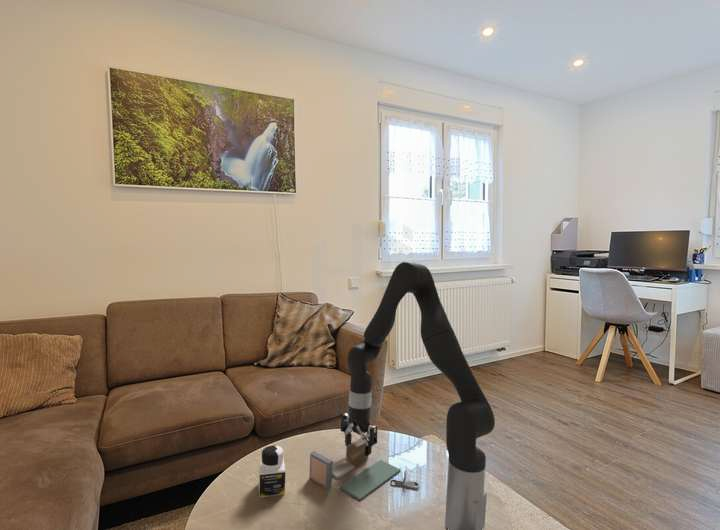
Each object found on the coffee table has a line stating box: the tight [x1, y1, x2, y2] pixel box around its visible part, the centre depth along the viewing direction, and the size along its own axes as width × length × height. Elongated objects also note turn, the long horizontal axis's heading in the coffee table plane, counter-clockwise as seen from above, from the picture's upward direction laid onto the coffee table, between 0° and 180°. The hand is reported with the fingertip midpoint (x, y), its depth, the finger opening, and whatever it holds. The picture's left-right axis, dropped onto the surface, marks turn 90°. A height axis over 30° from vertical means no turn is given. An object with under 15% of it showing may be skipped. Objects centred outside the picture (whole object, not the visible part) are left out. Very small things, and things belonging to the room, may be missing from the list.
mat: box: [339, 459, 401, 501], centre depth 121 cm, size 8×20×1 cm, turn 139°
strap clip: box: [389, 470, 420, 491], centre depth 119 cm, size 8×3×4 cm, turn 80°
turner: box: [332, 437, 369, 480], centre depth 128 cm, size 5×16×6 cm, turn 139°
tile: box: [309, 450, 334, 490], centre depth 118 cm, size 8×2×8 cm, turn 49°
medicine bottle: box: [258, 445, 287, 499], centre depth 114 cm, size 7×7×12 cm
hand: (357, 450), depth 131 cm, fingers open, 8 cm apart
